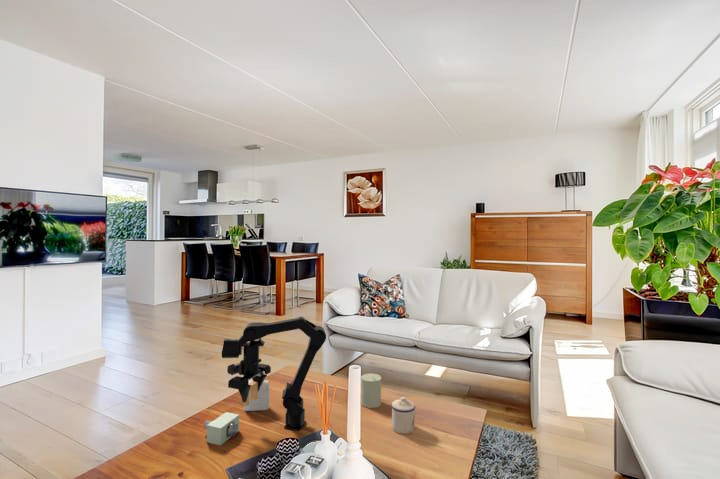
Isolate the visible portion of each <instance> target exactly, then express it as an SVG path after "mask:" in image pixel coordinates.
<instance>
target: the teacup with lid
mask: <svg viewBox="0 0 720 479" xmlns="http://www.w3.org/2000/svg"><path fill="white" fill-rule="evenodd" d="M415 409H416V404H415V403H414V402H413V401H411V400H409V399H407V398H406V397H405V396H401V397H400V399H399V398H398V399H395V400H393V401H392V402H391V428H392V429H393V431H394V432H396V433H398V434H402V435H404V434H410V433H412V432H414V430H415V412H416V411H415Z"/></svg>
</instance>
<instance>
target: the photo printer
mask: <svg viewBox="0 0 720 479" xmlns="http://www.w3.org/2000/svg"><path fill="white" fill-rule="evenodd" d="M248 381H249V382H248V384H249V383H251V382H252V381H253V379H250V380H248ZM269 409H270V383H269V380H265V379H264V381H263V383H262V385H261V387H260V389H259V391H258V396H257V399H256V400H253V399H251V390H250V391H249V405H248V406H244V405H243V411H245V412H249V411H250V412H253V411H257V412H258V411H268V410H269Z"/></svg>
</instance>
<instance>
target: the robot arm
mask: <svg viewBox="0 0 720 479" xmlns="http://www.w3.org/2000/svg"><path fill="white" fill-rule="evenodd" d="M294 330H300V331H301V332H303V333H304V334H305V335H306V336H307V337H309V338H308V343H307V348H306V350H305V353H303V357H302V359H301V362H300V364H299V366H298V368H297V370H296V373H295V376H294V377H293V379H292V381H291V382H288V381H287V382H286V384H285V388H284V389H283V390H282V396H281V399H282V405H283V407H284V409H286V413H285V425H284V429H286V430H287V429H289V430H293V431H298V432H299V431H300V430H301V429H302V428H304V426H305V425H306V424H307V420H305V417H306V412H305V408H304V398H303V397H302V396H301V392H302V387H303V384H304V382H305V380H306V377H307V375H308V373H309V370H310V369H311V366H312V363H313V362H314V359H315V356H316V355H317V352H319V350H320V349H322V346H323V345H324V343H325V342H326V340H327V333H326V330H325V329H324V327H323V326H321V325H316V324H314V323H313V322H312V321H309V320H307V319H306V318H305V317H303V316H298V317H296V318H294V317H293V318H290V319H285V320H284V319H283V320H278V321H272V322H255V321H254V322H250V323H248V324H247V325H246V327H245V328H244V329H243V332H242V335H241V336H240V337H239V339H229V338H226V339H224V340H223V345H222V350H221V359H239V357H240V356H242V355H243V357H242V360H240V362H238V363H232V364H229V365H227V374H228V375H230V376H233V375H236V376H234V377H232V378H230V379H229V380H228V381H227V383H228V384H227V388H229V389H234V390H237V391H238V392H239V396H240V397H241V400H242V401H243V402H246V400H247V397H248V393H249V390H250V386H251V385H248V382H249V381H251V380H253V381H255V382H258V391H259V389H260V387H261V385H262V383H263V381H264V380H265V379H266V378H267V376H268V374H270V373H271V371H272V367H271V366H270V364H265V363H261V362H262V359H261V358H260V347H264V346H265V341H264V340H262V338H264V337H266V336H269V335H273V334H278V333H284V332H285V333H286V332H289V331H294ZM237 374H238V375H239V376H238V375H237ZM242 401H241V402H242Z"/></svg>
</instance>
